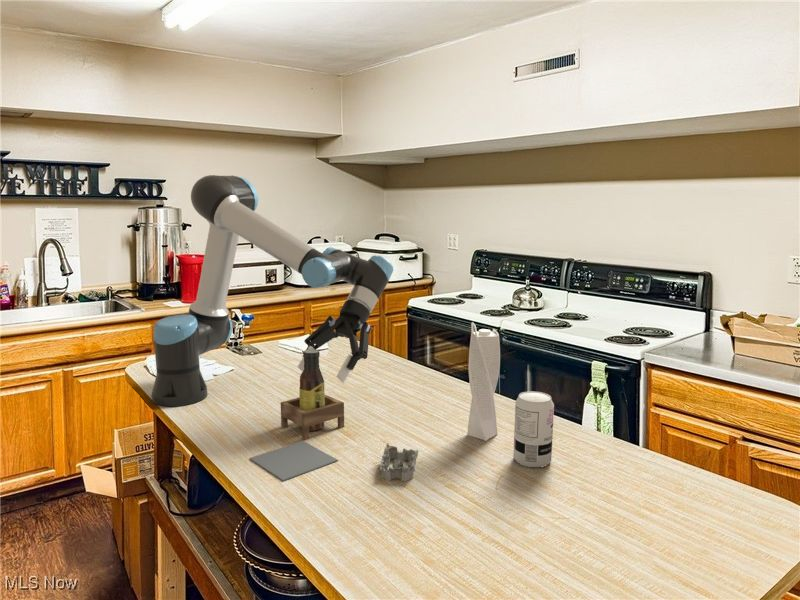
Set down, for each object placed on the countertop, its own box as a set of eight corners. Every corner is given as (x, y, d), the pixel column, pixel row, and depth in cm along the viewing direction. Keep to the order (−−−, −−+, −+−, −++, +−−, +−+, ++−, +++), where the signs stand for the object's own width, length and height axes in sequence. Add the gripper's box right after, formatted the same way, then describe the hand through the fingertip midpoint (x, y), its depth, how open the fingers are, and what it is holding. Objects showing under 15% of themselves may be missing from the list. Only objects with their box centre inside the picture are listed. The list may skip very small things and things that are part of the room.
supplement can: (509, 453, 136) (511, 390, 133) (544, 452, 136) (547, 390, 134) (519, 470, 128) (521, 403, 125) (556, 468, 128) (559, 402, 126)
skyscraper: (459, 434, 146) (461, 323, 141) (476, 425, 152) (479, 318, 147) (486, 443, 141) (490, 328, 136) (503, 434, 147) (507, 323, 142)
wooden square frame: (281, 426, 151) (280, 402, 150) (319, 415, 159) (319, 392, 158) (305, 439, 143) (304, 414, 142) (344, 426, 151) (343, 402, 150)
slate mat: (249, 459, 133) (249, 457, 132) (302, 441, 142) (302, 440, 142) (283, 481, 122) (283, 480, 122) (337, 461, 132) (337, 459, 132)
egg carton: (386, 459, 134) (386, 441, 133) (419, 461, 132) (419, 444, 132) (376, 481, 123) (376, 462, 123) (412, 483, 122) (412, 465, 121)
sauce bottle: (320, 432, 147) (318, 355, 144) (296, 430, 148) (294, 354, 145) (328, 423, 153) (327, 348, 150) (305, 421, 155) (303, 347, 151)
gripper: (401, 320, 154) (365, 391, 145) (331, 309, 169) (294, 373, 159) (388, 303, 149) (350, 376, 140) (317, 293, 163) (278, 358, 154)
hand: (320, 374), depth 150 cm, fingers open, 13 cm apart
